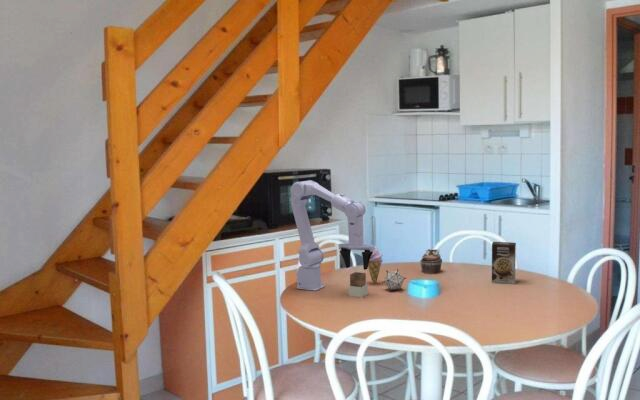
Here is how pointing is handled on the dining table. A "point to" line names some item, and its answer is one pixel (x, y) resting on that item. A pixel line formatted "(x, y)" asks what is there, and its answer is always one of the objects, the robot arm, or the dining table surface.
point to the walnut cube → (357, 279)
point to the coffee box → (503, 262)
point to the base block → (358, 291)
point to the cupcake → (431, 262)
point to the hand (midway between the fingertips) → (356, 268)
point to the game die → (394, 280)
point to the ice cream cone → (375, 265)
